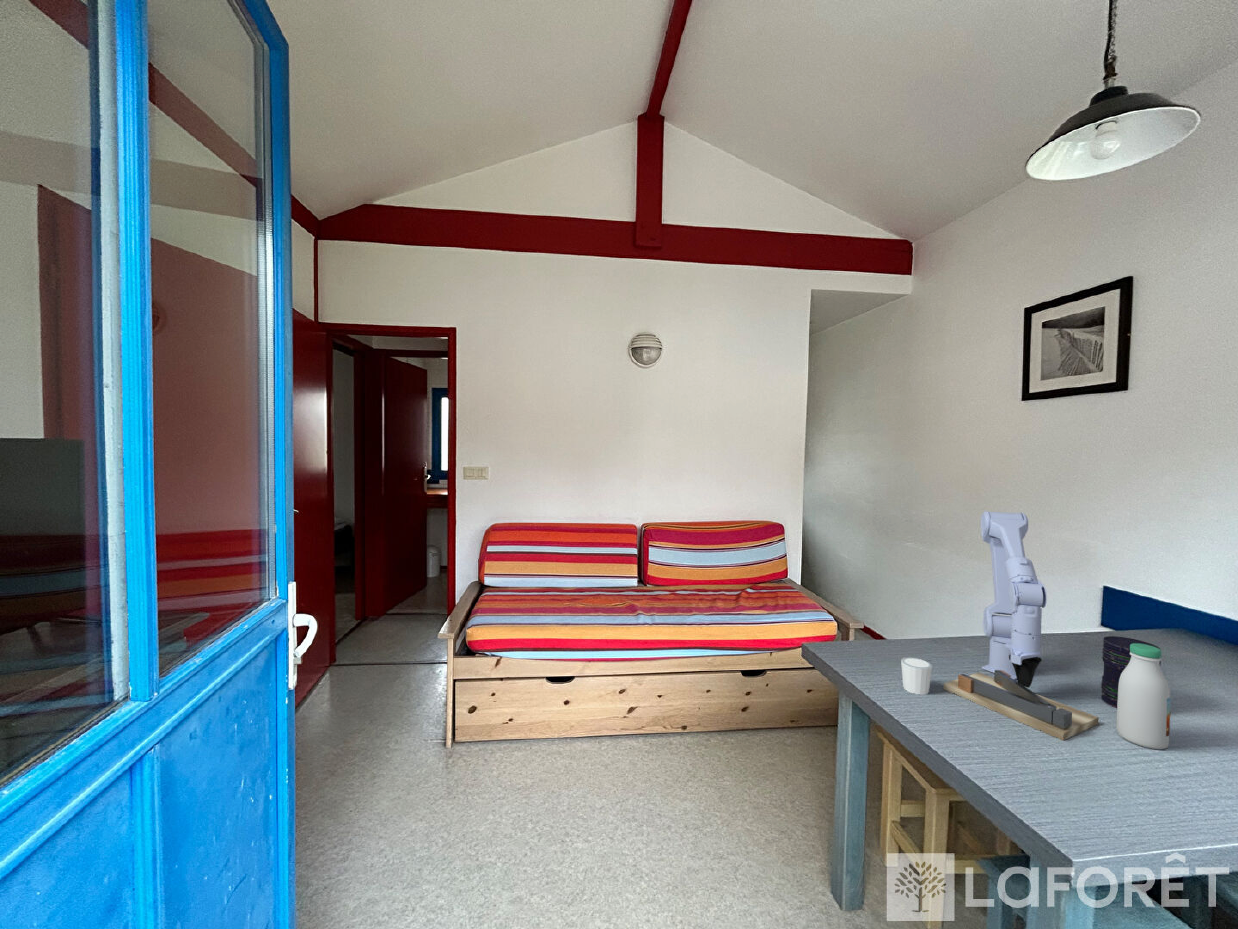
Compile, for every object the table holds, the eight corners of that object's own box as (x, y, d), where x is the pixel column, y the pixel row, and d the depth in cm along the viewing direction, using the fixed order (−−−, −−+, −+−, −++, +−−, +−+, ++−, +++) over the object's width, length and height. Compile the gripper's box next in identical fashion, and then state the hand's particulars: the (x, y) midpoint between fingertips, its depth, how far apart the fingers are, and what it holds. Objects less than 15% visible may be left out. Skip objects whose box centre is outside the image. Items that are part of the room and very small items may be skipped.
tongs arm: (1002, 681, 130) (1002, 670, 130) (1060, 721, 111) (1061, 708, 111) (993, 681, 130) (993, 670, 130) (1049, 721, 111) (1049, 707, 111)
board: (978, 678, 136) (978, 672, 136) (1098, 724, 113) (1098, 717, 113) (943, 689, 129) (943, 683, 129) (1063, 740, 107) (1063, 733, 107)
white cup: (936, 697, 125) (936, 669, 125) (905, 694, 127) (906, 667, 126) (925, 684, 132) (925, 658, 132) (896, 682, 133) (897, 656, 133)
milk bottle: (1160, 754, 102) (1164, 657, 101) (1109, 735, 109) (1113, 643, 108) (1175, 744, 106) (1178, 650, 105) (1125, 726, 112) (1128, 637, 112)
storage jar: (1101, 691, 129) (1103, 633, 128) (1158, 705, 122) (1160, 643, 121) (1099, 705, 122) (1101, 643, 121) (1159, 720, 115) (1162, 655, 114)
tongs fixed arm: (967, 684, 129) (967, 672, 129) (1071, 726, 109) (1072, 712, 109) (957, 687, 127) (958, 675, 127) (1061, 730, 108) (1062, 716, 108)
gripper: (1015, 620, 132) (1014, 672, 133) (996, 632, 124) (994, 687, 124) (1050, 628, 127) (1048, 682, 127) (1032, 641, 118) (1030, 699, 119)
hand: (1024, 685), depth 125 cm, fingers closed
